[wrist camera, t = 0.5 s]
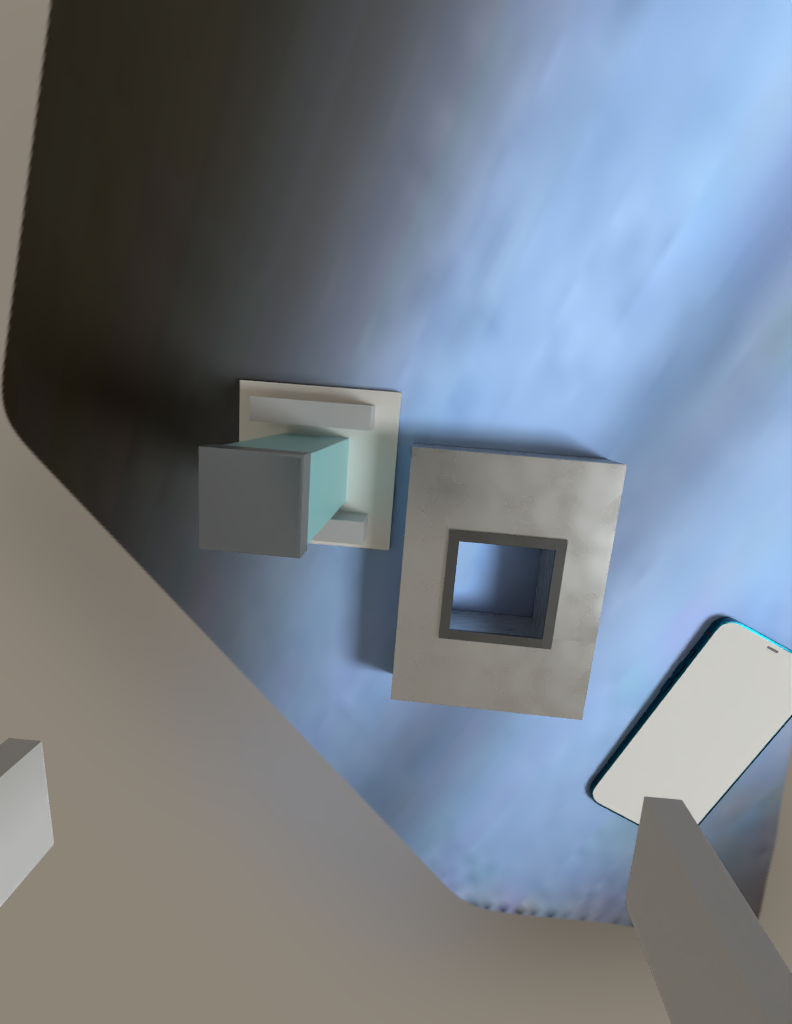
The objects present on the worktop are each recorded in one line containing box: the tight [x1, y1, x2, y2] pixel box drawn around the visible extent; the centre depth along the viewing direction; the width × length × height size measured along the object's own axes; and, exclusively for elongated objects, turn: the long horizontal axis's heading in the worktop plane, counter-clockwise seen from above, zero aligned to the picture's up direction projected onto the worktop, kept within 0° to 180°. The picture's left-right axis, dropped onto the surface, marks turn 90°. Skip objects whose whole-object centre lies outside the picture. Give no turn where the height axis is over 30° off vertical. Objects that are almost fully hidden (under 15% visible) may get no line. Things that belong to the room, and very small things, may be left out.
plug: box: [199, 433, 349, 558], centre depth 26 cm, size 4×4×12 cm
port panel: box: [391, 443, 627, 720], centre depth 31 cm, size 16×12×3 cm
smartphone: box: [590, 617, 792, 826], centre depth 34 cm, size 8×1×16 cm
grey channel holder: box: [239, 380, 402, 550], centre depth 31 cm, size 10×10×3 cm
